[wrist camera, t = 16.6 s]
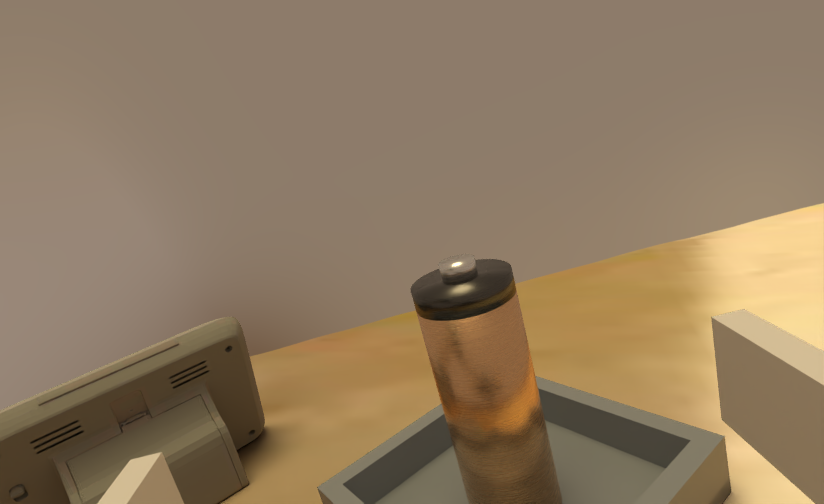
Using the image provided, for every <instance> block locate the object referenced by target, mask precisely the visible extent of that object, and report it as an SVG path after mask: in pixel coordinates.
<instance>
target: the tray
mask: <svg viewBox="0 0 824 504" xmlns="http://www.w3.org/2000/svg"><path fill="white" fill-rule="evenodd" d="M535 378H536V382H537V387H538V391H539V396H540V400H541V405H542V410H543V414H544V419H545V423H546V428H547V432H548V437H549V442H550V446H551V451H552V455H553V460H554V464H555V469H556V474H557V478H558V483H559V487H560V492H561V496H562V504H722V503H723V502H724V500H725V499H726V498H727V496H728V495H729V494H730V492H731V486H730V478H729V469H728V461H727V453H726V445H725V436H722V435H719V434H716V433H713V432H709V431H706V430H703V429H700V428H697V427H694V426H691V425H688V424H684V423H681V422H678V421H675V420H672V419H669V418H666V417H662V416H659V415H656V414H653V413H650V412H647V411H644V410H640V409H637V408H634V407H631V406H628V405H625V404H622V403H619V402H615V401H612V400H609V399H606V398H603V397H600V396H597V395H593V394H590V393H587V392H584V391H581V390H578V389H575V388H572V387H568V386H565V385H562V384H559V383H556V382H553V381H550V380H546V379H543V378H540V377H537V376H535ZM317 488H318V491H319V494H320V497H321V499H322V502H323V504H469V502H468V499H467V495H466V491H465V488H464V484H463V480H462V477H461V473H460V469H459V466H458V462H457V458H456V455H455V451H454V447H453V444H452V440H451V436H450V433H449V429H448V425H447V422H446V418H445V414H444V411H443V407H442V404H440V405H439V406H437V407H436V408H434V409H433V410H431V411H430V412H428V413H427V414H425V415H424V416H422V417H421V418H419V419H418V420H416V421H415V422H413V423H412V424H410V425H409V426H407V427H406V428H404V429H403V430H402V431H400V432H399V433H397V434H396V435H394V436H393V437H391V438H390V439H388V440H387V441H385V442H384V443H382V444H381V445H379V446H378V447H376V448H375V449H373V450H372V451H370V452H369V453H367V454H366V455H364V456H363V457H361V458H360V459H359V460H357V461H356V462H354V463H353V464H351V465H350V466H348V467H347V468H345V469H344V470H342V471H341V472H339V473H338V474H336V475H335V476H333V477H332V478H330V479H329V480H327V481H326V482H324V483H323V484H321V485H320V486H318V487H317Z"/></svg>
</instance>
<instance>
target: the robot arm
mask: <svg viewBox="0 0 824 504" xmlns="http://www.w3.org/2000/svg"><path fill="white" fill-rule="evenodd" d="M711 318H712V328H713V338H714V348H715V358H716V368H717V378H718V388H719V398H720V408H721V417H722V420H723V421H724V422H725V423H726V424H727V425H728V426H729V427H731V428H732V429H733V430H734V431H735V432H736V433H737V434H738V435H740V436H741V437H742V438H743V439H744V440H745V441H746V442H747V443H748V444H750V445H751V446H752V447H753V448H754V449H755V450H756V451H757V452H758V453H760V454H761V455H762V456H763V457H764V458H765V459H766V460H767V461H769V462H770V463H771V464H772V465H773V466H774V467H775V468H776V469H777V470H779V471H780V472H781V473H782V474H783V475H784V476H785V477H786V478H788V479H789V480H790V481H791V482H792V483H793V484H794V485H795V486H796V487H798V488H799V489H800V490H801V491H802V492H803V493H804V494H805V495H807V496H808V497H809V498H810V499H811V500H812V501H813V502H814V503H815V504H824V351H822V350H821V349H819V348H817V347H815V346H813V345H811V344H809V343H807V342H805V341H804V340H802V339H800V338H798V337H796V336H794V335H792V334H790V333H788V332H787V331H785V330H783V329H781V328H779V327H777V326H775V325H773V324H771V323H770V322H768V321H766V320H764V319H762V318H760V317H758V316H756V315H754V314H753V313H751V312H749V311H747V310H745V309H742V310H738V311H734V312H730V313H726V314H722V315H717V316H713V317H711ZM97 504H184V502H183V500H182V498H181V495H180V493H179V491H178V488H177V486H176V484H175V481H174V479H173V477H172V474H171V472H170V470H169V467H168V465H167V463H166V460H165V458H164V456H163V454H162V452H160V453H156V454H152V455H148V456H143V457H139V458H135V459H131V460H130V461H129V462H128V463H127V465H126V466H125V467H124V469H123V470H122V471H121V473H120V474H119V475H118V477H117V478H116V479H115V481H114V482H113V483H112V485H111V486H110V487H109V489H108V490H107V491H106V493H105V494H104V495H103V497H102V498H101V499H100V501H99V502H98V503H97Z"/></svg>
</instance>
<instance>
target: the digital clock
mask: <svg viewBox="0 0 824 504" xmlns="http://www.w3.org/2000/svg"><path fill="white" fill-rule="evenodd" d="M264 423H265V419H264V414H263V409H262V405H261V401H260V397H259V393H258V389H257V385H256V381H255V377H254V373H253V369H252V365H251V361H250V357H249V353H248V349H247V345H246V341H245V337H244V334H243V331H242V328H241V325H240V323H239V322H238V320H237V319H236V318H234V317H225V318H221V319H216V320H213V321H210V322H208V323H205V324H202V325H200V326H197V327H195V328H192V329H190V330H187V331H185V332H183V333H180V334H178V335H176V336H173V337H171V338H168V339H166V340H164V341H161V342H159V343H157V344H154V345H152V346H150V347H148V348H145V349H143V350H140V351H138V352H136V353H133V354H131V355H129V356H126V357H124V358H122V359H119V360H117V361H115V362H112V363H110V364H107V365H105V366H103V367H100V368H98V369H96V370H93V371H91V372H89V373H86V374H84V375H82V376H79V377H77V378H75V379H72V380H70V381H68V382H65V383H63V384H61V385H58V386H56V387H53V388H51V389H49V390H46V391H44V392H42V393H40V394H37V395H35V396H32V397H30V398H28V399H25V400H23V401H21V402H19V403H16V404H14V405H12V406H9V407H7V408H5V409H3V410H0V504H97V503H98V502H99V501H100V499H101V498H102V497H103V495H104V494H105V493H106V491H107V490H108V489H109V487H110V486H111V485H112V483H113V482H114V481H115V479H116V478H117V477H118V475H119V474H120V473H121V471H122V470H123V469H124V467H125V466H126V465H127V463H128V462H129V461H130V460H131V459H135V458H139V457H143V456H148V455H152V454H156V453H160V452H162V454H163V456H164V458H165V460H166V463H167V465H168V467H169V470H170V472H171V474H172V477H173V479H174V481H175V484H176V486H177V488H178V491H179V493H180V495H181V498H182V500H183V502H184V504H218V503H219V502H221V501H223V500H224V499H226V498H227V497H229V496H230V495H232V494H234V493H235V492H237V491H238V490H240V489H242V488H243V487H245V486H246V485H248V484H249V481H248V479H247V476H246V474H245V471H244V469H243V466H242V463H241V461H240V458H239V456H238V453H237V451H236V450H238V449H240V448H241V447H243V446H245V445H246V444H248V443H250V442H251V441H253V440H254V439H256V438H257V437H258V436H259V435H260V434H261V432H262V430H263V428H264Z"/></svg>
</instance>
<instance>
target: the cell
mask: <svg viewBox="0 0 824 504" xmlns="http://www.w3.org/2000/svg"><path fill="white" fill-rule="evenodd" d="M438 266H439V269H437V270H435V271H433V272H430V273H428V274H426V275H424V276H423V277H421V278H420V279H418V280H417V281H416V282H415V283H414V284H413V285H412V287H411V293H412V297H413V301H414V304H415V308H416V312H417V315H418V319H419V323H420V326H421V330H422V334H423V337H424V341H425V345H426V348H427V352H428V356H429V359H430V363H431V367H432V370H433V374H434V378H435V381H436V385H437V389H438V392H439V396H440V400H441V403H442V407H443V411H444V414H445V418H446V422H447V425H448V429H449V433H450V436H451V440H452V444H453V447H454V451H455V455H456V458H457V462H458V466H459V469H460V473H461V477H462V480H463V484H464V488H465V491H466V495H467V499H468V502H469V504H562V496H561V492H560V487H559V483H558V478H557V474H556V469H555V464H554V460H553V455H552V451H551V446H550V442H549V437H548V432H547V428H546V423H545V419H544V414H543V410H542V405H541V400H540V396H539V391H538V387H537V382H536V378H535V373H534V368H533V364H532V359H531V355H530V350H529V345H528V341H527V336H526V332H525V327H524V323H523V318H522V313H521V309H520V304H519V300H518V295H517V291H516V286H515V281H514V277H513V272H512V268H511V265H510V264H509V263H507V262H505V261H501V260H495V259H483V260H475V258H474V255H471V254H461V255H456V256H452V257H449V258H447V259H444V260H442V261H441V262H440V263H439V264H438Z"/></svg>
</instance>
